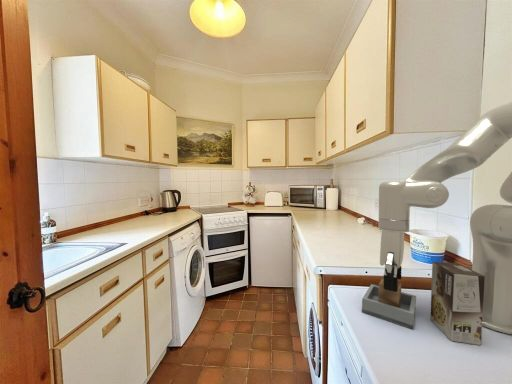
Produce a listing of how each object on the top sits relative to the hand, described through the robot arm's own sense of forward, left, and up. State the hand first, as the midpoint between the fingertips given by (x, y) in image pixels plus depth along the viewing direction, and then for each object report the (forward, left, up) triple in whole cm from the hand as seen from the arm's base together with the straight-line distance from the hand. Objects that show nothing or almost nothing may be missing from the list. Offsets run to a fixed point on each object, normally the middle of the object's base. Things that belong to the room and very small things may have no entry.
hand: (392, 283), depth 64 cm
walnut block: (+1, 0, -7) cm, 7 cm away
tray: (+1, 0, -8) cm, 8 cm away
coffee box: (-13, 0, -8) cm, 16 cm away
